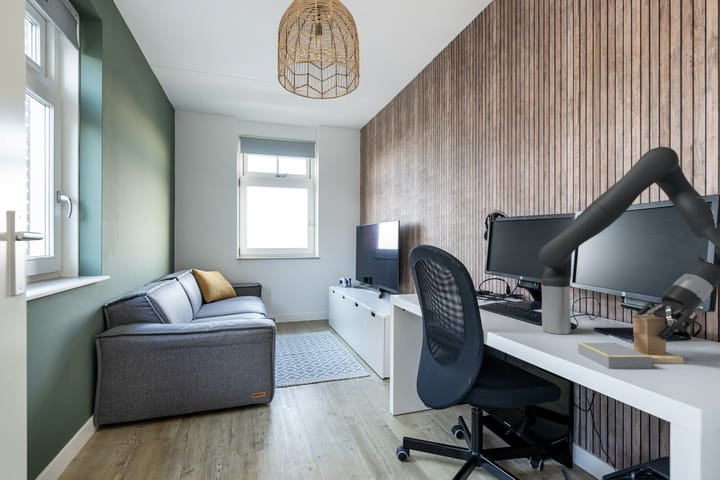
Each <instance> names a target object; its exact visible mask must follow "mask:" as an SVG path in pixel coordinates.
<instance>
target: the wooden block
mask: <svg viewBox="0 0 720 480" xmlns="http://www.w3.org/2000/svg"><path fill="white" fill-rule="evenodd" d="M653 315H654V314H653ZM653 315H637V314H632V319H633V320H632V321H633V325H632V328H633V336H634V346H633V347H634V350H637V351H639V352H642V353H644V354H647V355H666V352H667V339H666V340H662V339H660V338H659V337H658V336H657V333H658V332H659V331H660V330H661V329H662V328H663V327H664V326H665V325H666V322H667V321H666V319H665V318H661V317H657V316H656V315H654V316H653Z"/></svg>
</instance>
